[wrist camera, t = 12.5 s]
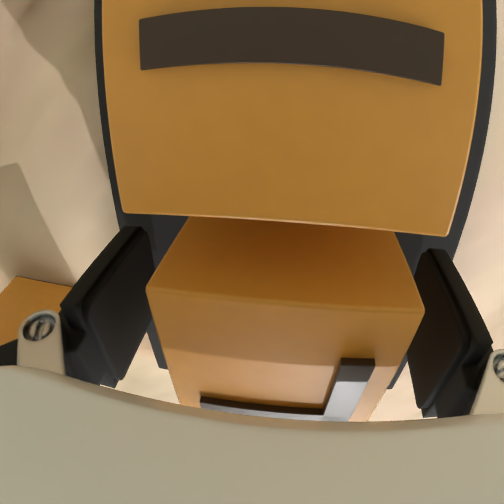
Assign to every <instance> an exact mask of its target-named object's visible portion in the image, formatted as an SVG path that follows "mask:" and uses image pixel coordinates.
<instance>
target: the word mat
mask: <svg viewBox="0 0 504 504" xmlns="http://www.w3.org/2000/svg"><path fill="white" fill-rule="evenodd" d="M482 10H483V36H482V60H481V74H480V85H479V94H478V103H477V110H476V117H475V124H474V130H473V136H472V141H471V147H470V152H469V157H468V162H467V166H466V171H465V175H464V179H463V184H462V188H461V192H460V195H459V199H458V203H457V207H456V210H455V214H454V217H453V221H452V224H451V227H450V231H449V234H448V235H447V236H445V237H441V236H432V235H423V234H413V233H404V232H394V233H395V235H396V238H397V240H398V242H399V245H400V247H401V249H402V252H403V254H404V256H405V259H406V261H407V264H408V266H409V269H410V271H411V273H412V276H413V277H414V274H415V271H416V268H417V265H418V262H419V259H420V256H421V254H422V253H423V252H426V251H427V249H428V248H434V249H444V250H446V252H447V253H448V255H449V257H450V258H451V260H453V257H454V255H455V252H456V249H457V246H458V243H459V240H460V237H461V234H462V231H463V228H464V225H465V222H466V218H467V215H468V212H469V208H470V205H471V201H472V198H473V194H474V190H475V186H476V182H477V178H478V174H479V170H480V165H481V161H482V156H483V151H484V146H485V141H486V136H487V130H488V124H489V117H490V111H491V103H492V95H493V86H494V75H495V61H496V35H497V18H496V0H482ZM94 22H95V54H96V71H97V84H98V96H99V106H100V115H101V123H102V131H103V139H104V146H105V153H106V159H107V166H108V172H109V178H110V183H111V189H112V194H113V199H114V205H115V210H116V215H117V219H118V224H119V229H120V230H121V229H122V228H123V227H124V226H141V227H142V228H143V229H144V231H147V233H148V235H149V240H150V246H151V251H152V256H153V261H154V266H155V270H156V269H157V267H158V266H159V264H160V262H161V261H162V259H163V257H164V256H165V254H166V253H167V251H168V249H169V248H170V246H171V245H172V243H173V241H174V240H175V238H176V237H177V235H178V233H179V232H180V230H181V229H182V227H183V226H184V224H185V223H186V221H187V219H188V218H189V216H179V215H157V214H134V213H125V212H123V210H122V206H121V201H120V195H119V190H118V184H117V178H116V172H115V165H114V159H113V152H112V145H111V137H110V129H109V121H108V112H107V102H106V91H105V78H104V63H103V42H102V0H95V1H94ZM147 333H148V336H149V339H150V342H151V345H152V349H153V352H154V354H155V357H156V360H157V363H158V366H159V368H163V369H168V367H167V364H166V361H165V357H164V354H163V351H162V348H161V344H160V341H159V338H158V334H157V331H156V327H155V324H154V320H153V319H152V321H151V323H150V325H149V327H148V329H147ZM407 361H408V360H407V355H406V354H405V356H404V358H403V360H402V362H401V364H400V366H399V367H398V369H397V371H396V373H395V375H394V377H393V379H392V380H391V382H390V384H389V386H388V388H387V389H392V388H393V386H394V384H395V383H396V381H397V379H398V377H399V375H400V374H401V372H402V370H403V368H404V366H405V365H406V363H407Z"/></svg>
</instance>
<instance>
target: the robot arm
mask: <svg viewBox="0 0 504 504" xmlns="http://www.w3.org/2000/svg"><path fill="white" fill-rule="evenodd" d="M154 272H155V266H154V261H153V256H152V251H151V246H150V240H149V235H148V233H147V231H144V229H143V228H142V227H141V226H124V227H123V228H122V229H121V230H120V231H119V232H118V234H117V235H116V236H115V237H114V238H113V239H112V240H111V242H110V243H109V244H108V245H107V246H106V247H105V249H104V250H103V251H102V252H101V253H100V254H99V256H98V257H97V258H96V259H95V260H94V262H93V263H92V264H91V265H90V266H89V268H88V269H87V270H86V271H85V273H84V274H83V275H82V276H81V277H80V279H79V280H78V281H77V282H76V284H75V285H74V286H73V288H72V289H71V290H70V291H69V293H68V294H67V295H66V297H65V298H64V299H63V300H62V302H61V303H60V304H59V305H60V307H61V310H60V312H59V313H58V314H57V313H56V312H55V311H53V310H48V309H44V310H39V311H37V312H34V313H32V314H31V315H29V316H28V317H27V318H26V319H25V320H24V321H23V322H22V324H21V325H20V327H19V331H18V339H15V340H13V341H10V342H8V343H6V344H3V345H1V346H0V504H504V349H498V350H495V351H493V349H492V346H491V345H492V343H493V341H492V338H491V336H490V334H489V332H488V330H487V327H486V325H485V323H484V321H483V319H482V317H481V315H480V313H479V311H478V309H477V307H476V305H475V303H474V301H473V299H472V297H471V295H470V293H469V291H468V289H467V287H466V285H465V283H464V282H463V280H462V278H461V276H460V274H459V272H458V271H457V269H456V267H455V265H454V264H453V262H452V260H451V258H450V257H449V255H448V253H447V252H446V250H444V249H434V248H428V249H427V251H426V252H423V253H422V254H421V256H420V259H419V262H418V265H417V268H416V271H415V274H414V277H413V279H414V281H415V284H416V286H417V289H418V292H419V294H420V297H421V300H422V302H423V305H424V308H425V314H424V316H423V318H422V320H421V323H420V325H419V327H418V329H417V331H416V333H415V335H414V338H413V340H412V342H411V344H410V346H409V348H408V350H407V352H406V355H407V360H408V364H409V369H410V374H411V379H412V383H413V389H414V394H415V399H416V404H417V407H418V408H419V409H420V408H421V410H422V415H423V418H427V417H437V418H435V419H420V420H404V421H378V422H339V421H311V420H294V419H281V418H270V417H260V416H251V415H243V414H235V413H227V412H221V411H214V410H208V409H202V408H196V407H190V406H185V405H179V404H174V403H169V402H164V401H160V400H155V399H151V398H146V397H142V396H138V395H134V394H130V393H126V392H122V391H118V390H114V389H111V388H107V387H103V386H100V384H101V385H105V386H108V387H112V388H115V387H116V385H117V383H118V381H119V380H122V379H123V378H124V377H125V375H126V373H127V370H128V368H129V366H130V364H131V362H132V360H133V358H134V356H135V353H136V351H137V349H138V347H139V345H140V343H141V341H142V339H143V337H144V335H145V333H146V331H147V329H148V327H149V325H150V323H151V321H152V319H153V317H152V313H151V309H150V305H149V302H148V298H147V294H146V285H147V284H148V282H149V280H150V279H151V277H152V275H153V274H154Z"/></svg>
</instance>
